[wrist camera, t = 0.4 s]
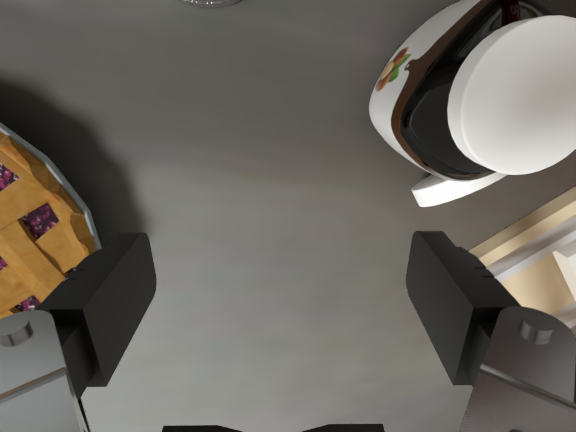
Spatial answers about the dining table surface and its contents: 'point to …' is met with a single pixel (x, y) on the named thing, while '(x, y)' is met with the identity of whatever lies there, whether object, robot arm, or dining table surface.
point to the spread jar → (480, 95)
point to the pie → (37, 226)
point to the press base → (535, 258)
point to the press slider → (568, 264)
